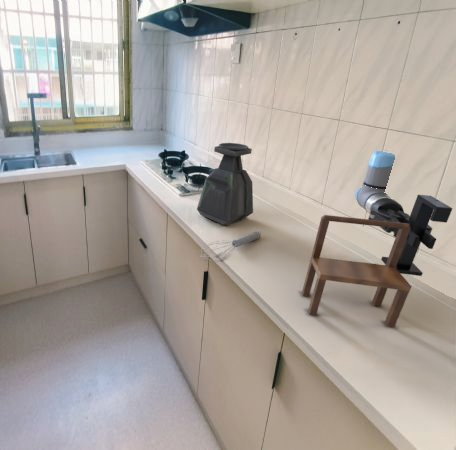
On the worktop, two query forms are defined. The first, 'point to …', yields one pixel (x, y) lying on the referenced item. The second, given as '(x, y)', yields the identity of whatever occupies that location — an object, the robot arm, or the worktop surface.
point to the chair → (359, 269)
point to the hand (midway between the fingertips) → (424, 242)
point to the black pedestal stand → (420, 229)
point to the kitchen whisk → (235, 243)
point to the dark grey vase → (227, 187)
